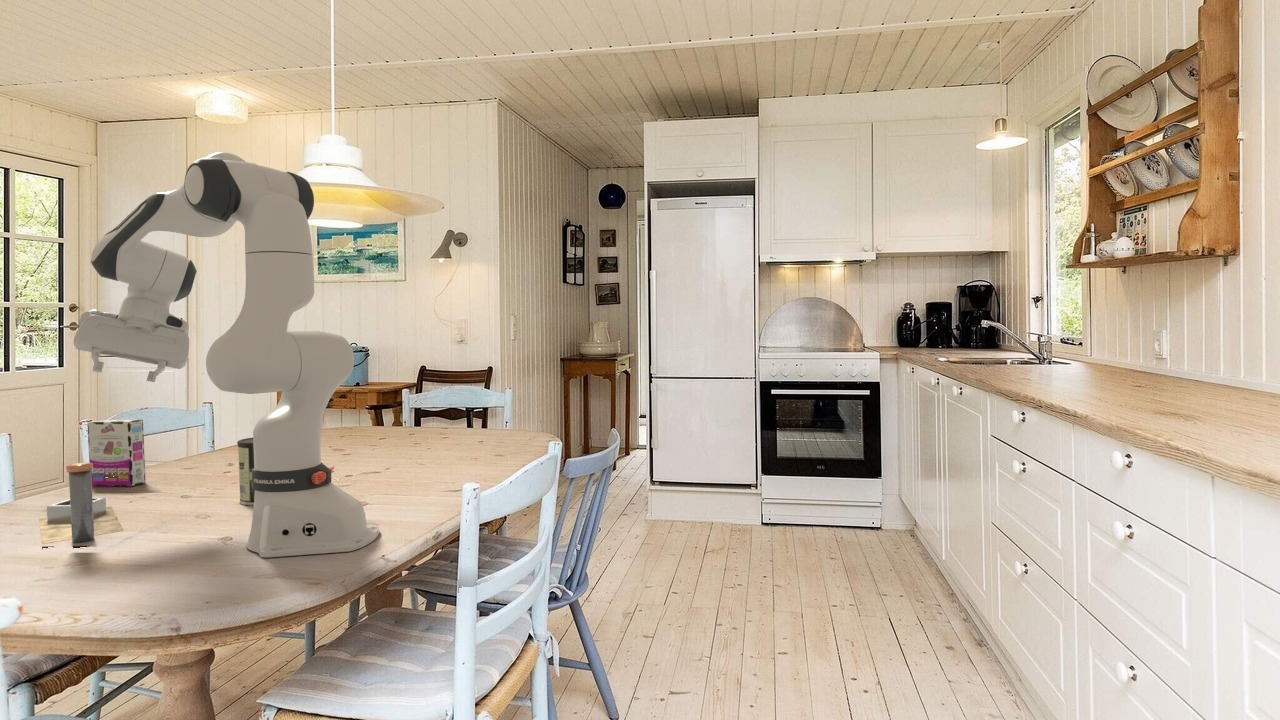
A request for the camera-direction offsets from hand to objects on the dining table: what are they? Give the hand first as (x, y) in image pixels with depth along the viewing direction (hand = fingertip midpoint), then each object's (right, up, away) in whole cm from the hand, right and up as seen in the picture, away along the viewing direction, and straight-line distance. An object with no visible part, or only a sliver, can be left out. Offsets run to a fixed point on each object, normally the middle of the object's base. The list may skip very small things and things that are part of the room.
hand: (124, 375), depth 149 cm
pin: (+7, -31, -19) cm, 37 cm away
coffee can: (+22, -29, +14) cm, 39 cm away
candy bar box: (-23, -28, +30) cm, 48 cm away
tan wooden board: (-3, -30, -8) cm, 31 cm away
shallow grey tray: (-8, -29, -3) cm, 30 cm away
